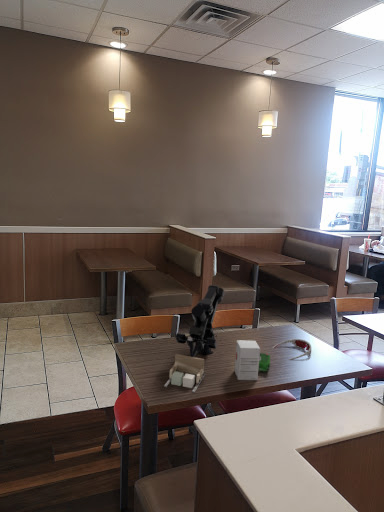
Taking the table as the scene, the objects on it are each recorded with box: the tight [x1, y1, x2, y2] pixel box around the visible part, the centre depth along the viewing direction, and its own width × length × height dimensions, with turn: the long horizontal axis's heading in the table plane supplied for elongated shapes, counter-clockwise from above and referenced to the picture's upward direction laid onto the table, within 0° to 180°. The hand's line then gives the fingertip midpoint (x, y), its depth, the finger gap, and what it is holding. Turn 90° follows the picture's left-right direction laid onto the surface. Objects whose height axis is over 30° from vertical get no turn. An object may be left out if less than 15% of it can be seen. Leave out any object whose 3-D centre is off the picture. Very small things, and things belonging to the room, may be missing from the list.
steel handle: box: [163, 371, 205, 393], centre depth 170 cm, size 16×13×1 cm
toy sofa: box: [168, 353, 205, 384], centre depth 172 cm, size 8×14×8 cm, turn 73°
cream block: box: [182, 373, 196, 389], centre depth 167 cm, size 4×4×4 cm
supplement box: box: [234, 339, 261, 381], centre depth 177 cm, size 9×9×15 cm
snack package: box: [258, 352, 271, 372], centre depth 187 cm, size 7×16×5 cm, turn 167°
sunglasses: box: [272, 338, 312, 361], centre depth 207 cm, size 17×17×5 cm
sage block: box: [170, 372, 185, 387], centre depth 168 cm, size 4×4×4 cm
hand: (191, 358), depth 177 cm, fingers closed
